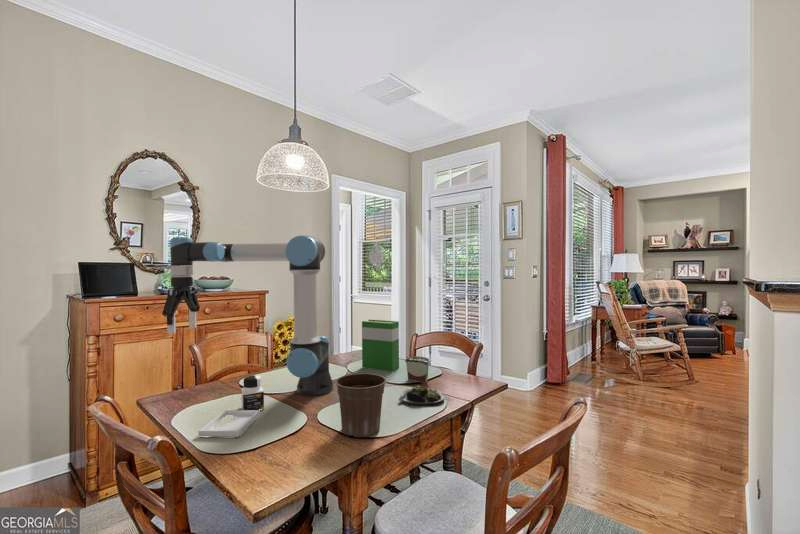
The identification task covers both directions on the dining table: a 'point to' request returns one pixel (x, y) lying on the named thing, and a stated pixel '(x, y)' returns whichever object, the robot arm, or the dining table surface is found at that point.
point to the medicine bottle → (252, 393)
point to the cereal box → (380, 345)
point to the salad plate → (421, 396)
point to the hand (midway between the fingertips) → (182, 330)
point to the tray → (230, 424)
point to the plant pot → (360, 403)
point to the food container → (417, 368)
